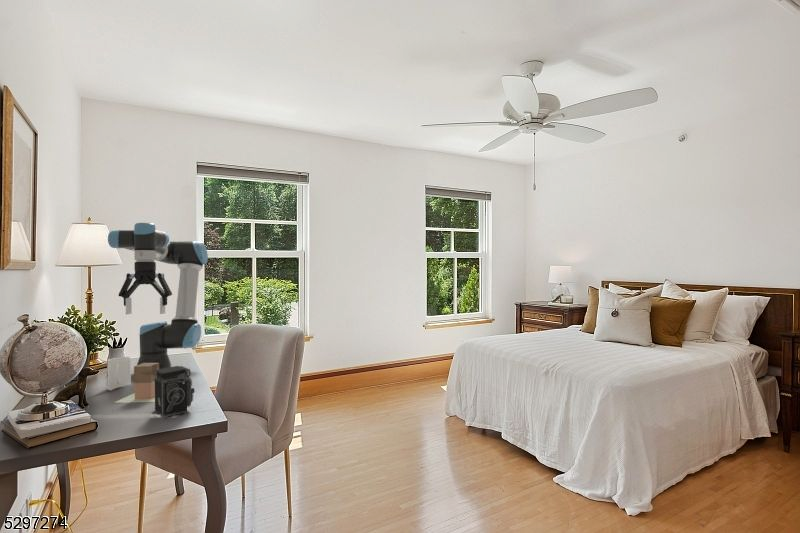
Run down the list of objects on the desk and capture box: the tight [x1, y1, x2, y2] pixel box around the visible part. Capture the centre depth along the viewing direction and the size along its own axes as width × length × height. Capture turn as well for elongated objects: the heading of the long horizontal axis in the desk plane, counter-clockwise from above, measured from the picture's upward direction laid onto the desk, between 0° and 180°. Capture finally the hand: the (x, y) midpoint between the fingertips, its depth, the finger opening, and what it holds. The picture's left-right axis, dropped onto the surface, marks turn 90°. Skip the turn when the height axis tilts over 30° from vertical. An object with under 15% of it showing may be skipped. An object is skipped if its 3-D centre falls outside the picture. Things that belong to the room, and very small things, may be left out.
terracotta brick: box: [134, 381, 155, 399], centre depth 169 cm, size 6×6×6 cm
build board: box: [114, 392, 155, 404], centre depth 169 cm, size 14×16×1 cm
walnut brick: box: [133, 363, 159, 384], centre depth 169 cm, size 6×6×6 cm
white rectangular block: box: [106, 356, 132, 391], centre depth 186 cm, size 12×8×12 cm
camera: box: [154, 365, 195, 418], centre depth 154 cm, size 10×10×15 cm
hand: (145, 314), depth 184 cm, fingers open, 13 cm apart
